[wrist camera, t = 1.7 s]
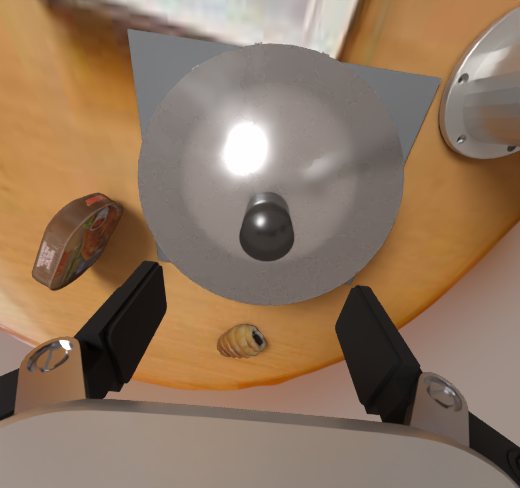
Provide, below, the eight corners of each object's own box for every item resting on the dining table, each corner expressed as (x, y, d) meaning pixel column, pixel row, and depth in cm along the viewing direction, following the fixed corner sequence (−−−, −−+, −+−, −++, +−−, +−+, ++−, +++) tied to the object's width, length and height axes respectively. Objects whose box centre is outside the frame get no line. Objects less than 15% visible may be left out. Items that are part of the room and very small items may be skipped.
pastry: (230, 353, 45) (227, 371, 41) (210, 334, 42) (204, 352, 39) (269, 338, 42) (268, 357, 38) (250, 317, 39) (248, 335, 36)
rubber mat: (439, 78, 21) (442, 78, 21) (349, 282, 34) (350, 284, 33) (129, 30, 20) (127, 28, 20) (159, 258, 33) (158, 260, 33)
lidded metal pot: (405, 87, 21) (556, 49, 10) (333, 276, 33) (365, 355, 22) (162, 49, 20) (33, -37, 9) (178, 256, 32) (130, 328, 21)
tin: (94, 266, 34) (47, 305, 27) (74, 255, 33) (20, 292, 26) (132, 196, 28) (83, 222, 21) (108, 180, 27) (50, 202, 20)
